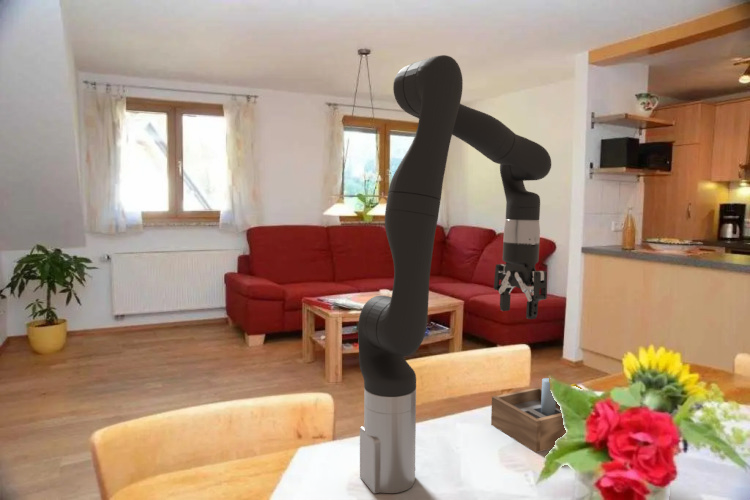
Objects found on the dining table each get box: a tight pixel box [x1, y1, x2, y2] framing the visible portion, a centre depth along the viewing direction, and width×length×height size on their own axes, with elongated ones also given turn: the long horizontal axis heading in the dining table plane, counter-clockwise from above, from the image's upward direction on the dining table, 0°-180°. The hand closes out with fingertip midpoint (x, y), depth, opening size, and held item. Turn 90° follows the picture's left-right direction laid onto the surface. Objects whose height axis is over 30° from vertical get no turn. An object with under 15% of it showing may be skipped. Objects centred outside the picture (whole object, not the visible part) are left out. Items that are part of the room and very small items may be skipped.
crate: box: [490, 386, 566, 454], centre depth 109 cm, size 14×14×6 cm
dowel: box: [541, 377, 556, 416], centre depth 110 cm, size 3×3×11 cm
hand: (517, 314), depth 110 cm, fingers open, 8 cm apart
